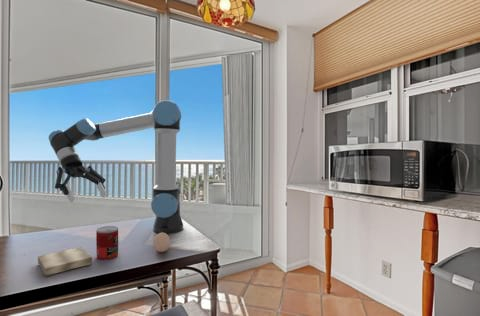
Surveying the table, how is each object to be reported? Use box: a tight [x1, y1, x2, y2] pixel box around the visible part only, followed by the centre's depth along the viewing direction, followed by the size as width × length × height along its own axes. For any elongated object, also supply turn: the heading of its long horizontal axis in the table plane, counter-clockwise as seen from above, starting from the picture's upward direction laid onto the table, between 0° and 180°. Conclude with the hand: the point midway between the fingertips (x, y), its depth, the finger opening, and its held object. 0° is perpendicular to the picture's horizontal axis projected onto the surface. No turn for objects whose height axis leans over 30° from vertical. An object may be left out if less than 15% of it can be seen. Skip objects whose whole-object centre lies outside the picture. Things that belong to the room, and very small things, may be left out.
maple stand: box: [37, 246, 93, 277], centre depth 100 cm, size 14×14×3 cm
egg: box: [153, 232, 171, 253], centre depth 114 cm, size 7×7×8 cm
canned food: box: [95, 225, 119, 261], centre depth 108 cm, size 8×8×11 cm
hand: (89, 198), depth 113 cm, fingers open, 13 cm apart
